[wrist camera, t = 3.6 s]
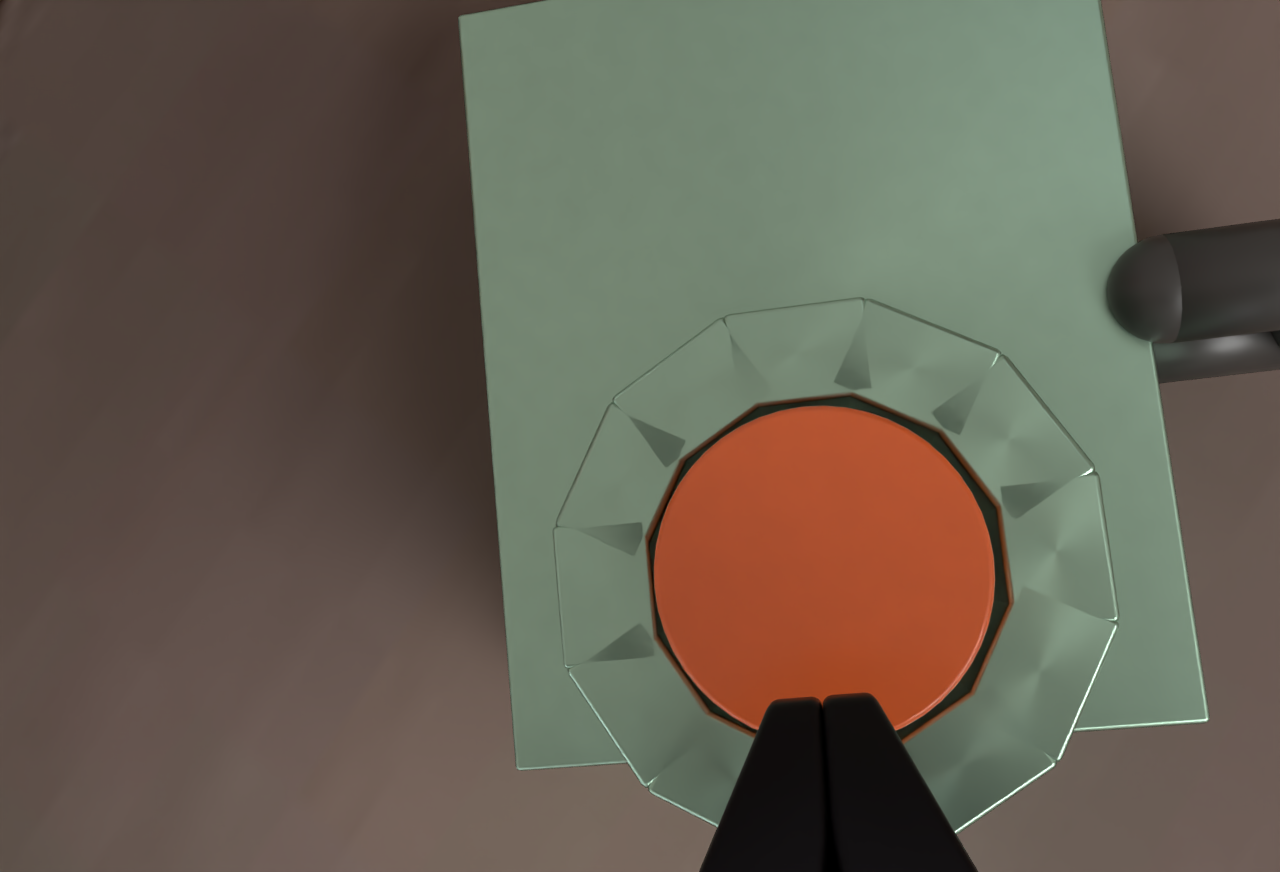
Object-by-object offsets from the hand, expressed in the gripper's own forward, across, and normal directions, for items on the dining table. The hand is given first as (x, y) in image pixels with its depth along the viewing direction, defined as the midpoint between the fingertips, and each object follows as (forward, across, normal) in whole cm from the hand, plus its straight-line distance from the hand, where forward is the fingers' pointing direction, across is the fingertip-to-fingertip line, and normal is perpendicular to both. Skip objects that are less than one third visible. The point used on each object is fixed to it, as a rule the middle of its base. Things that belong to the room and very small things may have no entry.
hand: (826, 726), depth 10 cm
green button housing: (+11, 0, +5) cm, 13 cm away
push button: (+4, 0, +2) cm, 5 cm away
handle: (+11, -6, +4) cm, 13 cm away
